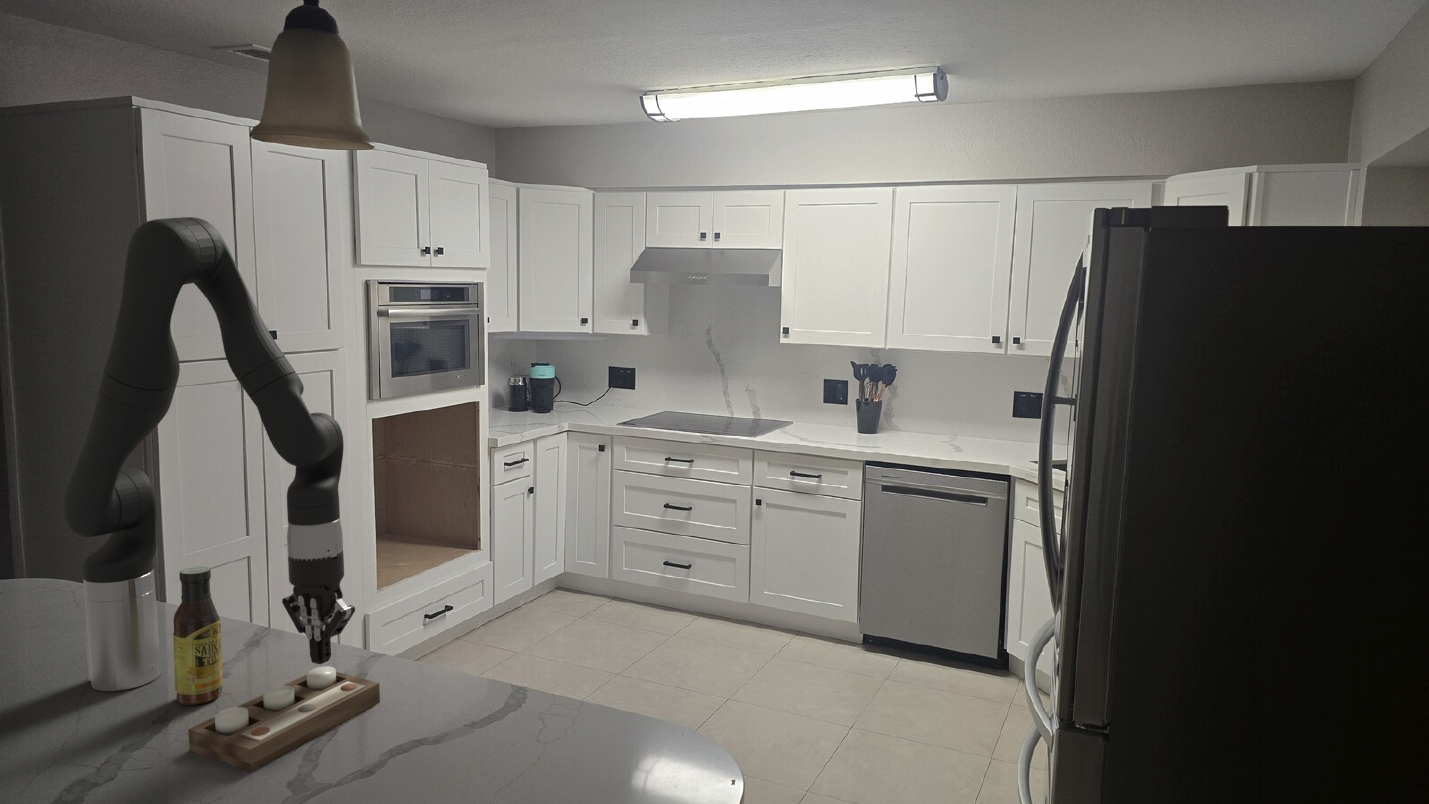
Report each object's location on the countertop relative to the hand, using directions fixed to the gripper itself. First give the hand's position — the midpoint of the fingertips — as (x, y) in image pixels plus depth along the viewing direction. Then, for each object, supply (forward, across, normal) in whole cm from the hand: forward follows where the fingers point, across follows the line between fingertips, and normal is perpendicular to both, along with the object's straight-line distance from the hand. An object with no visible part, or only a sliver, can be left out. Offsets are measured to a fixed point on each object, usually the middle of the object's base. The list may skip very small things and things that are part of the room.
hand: (321, 661), depth 137 cm
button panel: (+6, +2, -7) cm, 10 cm away
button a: (+4, 0, 0) cm, 4 cm away
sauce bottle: (+6, -17, -8) cm, 20 cm away
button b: (+4, 0, -7) cm, 8 cm away
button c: (+4, 0, -15) cm, 15 cm away
